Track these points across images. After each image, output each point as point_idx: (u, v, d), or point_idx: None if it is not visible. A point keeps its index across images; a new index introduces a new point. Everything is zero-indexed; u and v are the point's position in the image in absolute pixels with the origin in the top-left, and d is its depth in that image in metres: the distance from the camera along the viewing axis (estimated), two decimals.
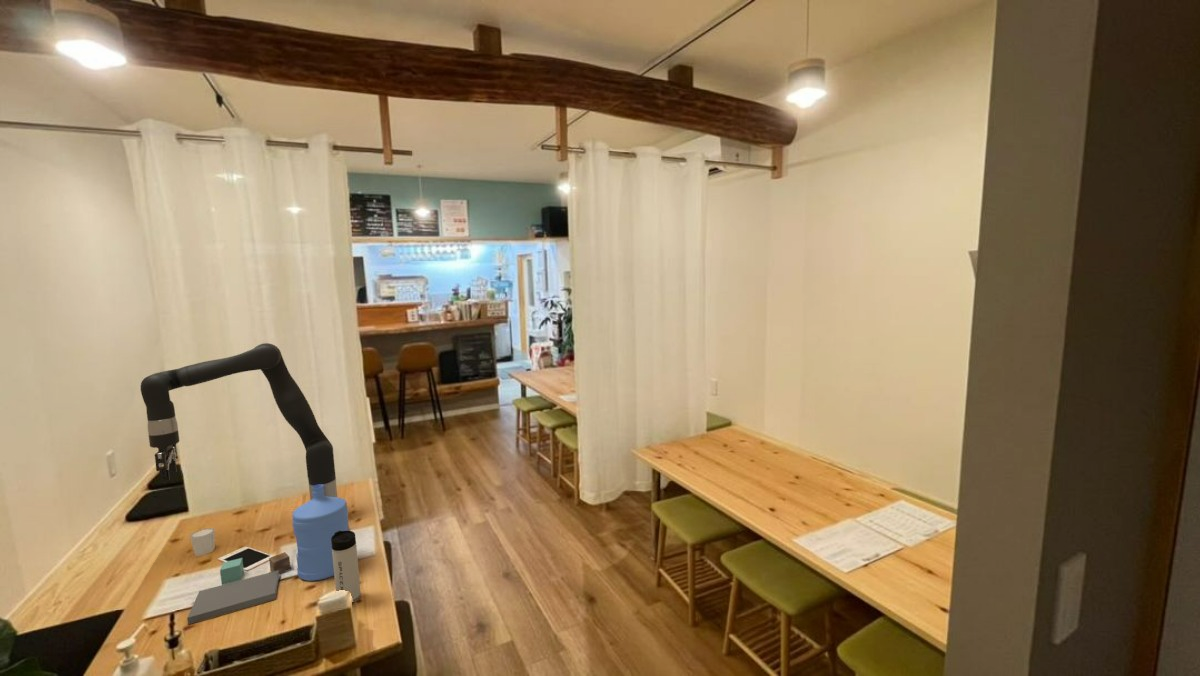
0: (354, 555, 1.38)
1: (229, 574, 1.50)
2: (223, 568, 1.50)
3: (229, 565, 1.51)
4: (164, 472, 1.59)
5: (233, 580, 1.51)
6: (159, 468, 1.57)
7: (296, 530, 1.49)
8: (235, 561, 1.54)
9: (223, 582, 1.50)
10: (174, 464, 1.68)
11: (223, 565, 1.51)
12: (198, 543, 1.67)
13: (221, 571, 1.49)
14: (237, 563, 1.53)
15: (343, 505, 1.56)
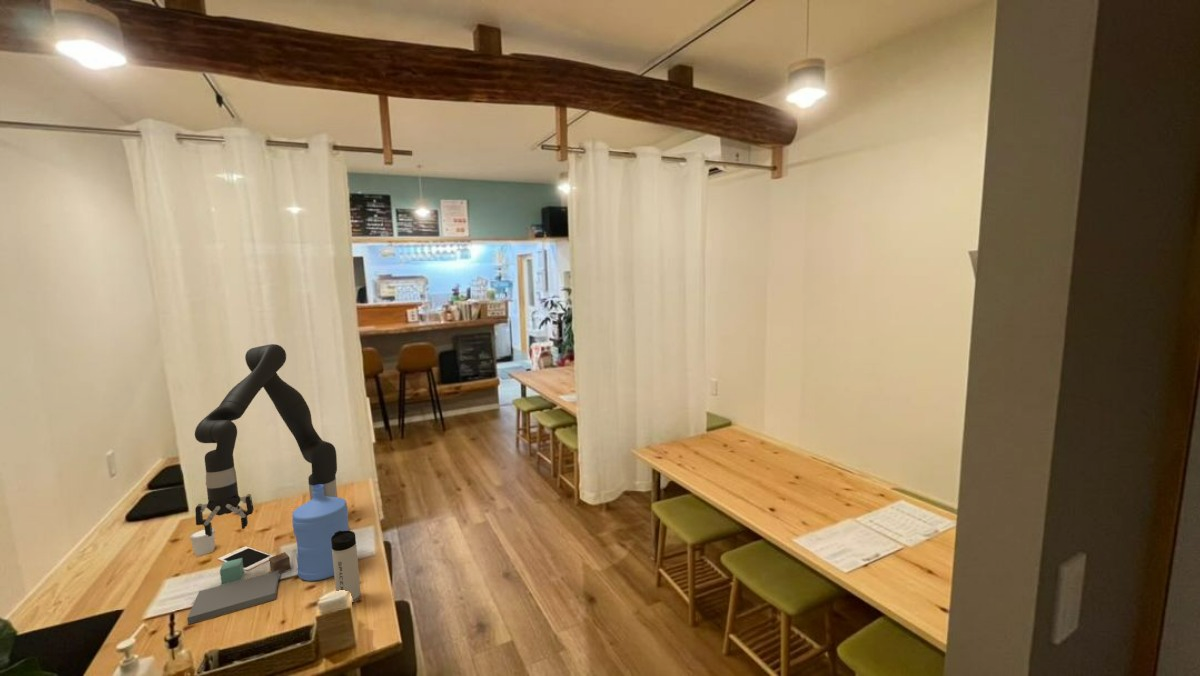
0: (354, 555, 1.38)
1: (229, 574, 1.50)
2: (223, 568, 1.50)
3: (229, 565, 1.51)
4: (246, 517, 1.54)
5: (233, 580, 1.51)
6: None
7: (296, 530, 1.49)
8: (235, 561, 1.54)
9: (223, 582, 1.50)
10: (211, 524, 1.50)
11: (223, 565, 1.51)
12: (198, 543, 1.67)
13: (221, 571, 1.49)
14: (237, 563, 1.53)
15: (343, 505, 1.56)
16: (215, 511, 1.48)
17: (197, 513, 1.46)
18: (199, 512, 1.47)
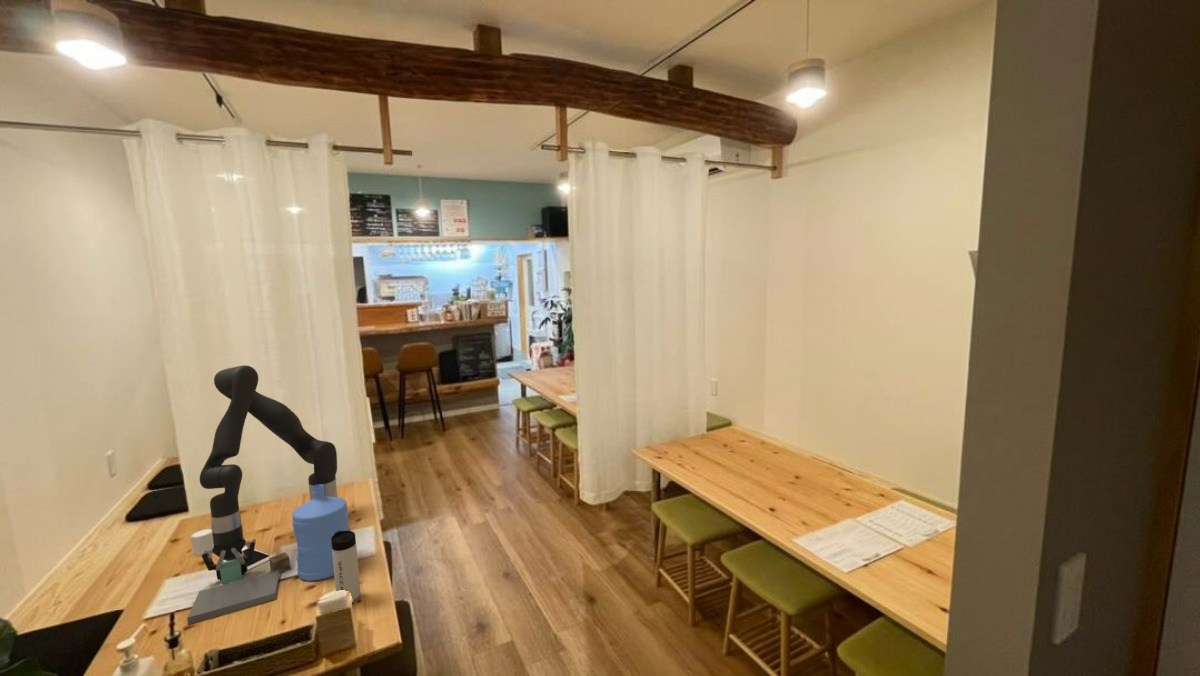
0: (354, 555, 1.38)
1: (229, 574, 1.50)
2: (223, 568, 1.50)
3: (229, 565, 1.51)
4: (246, 563, 1.55)
5: (233, 580, 1.51)
6: None
7: (296, 530, 1.49)
8: (235, 561, 1.54)
9: (223, 582, 1.50)
10: None
11: (223, 565, 1.52)
12: (198, 543, 1.67)
13: (221, 571, 1.49)
14: (237, 562, 1.53)
15: (343, 505, 1.56)
16: (222, 555, 1.50)
17: (205, 560, 1.48)
18: (207, 559, 1.48)
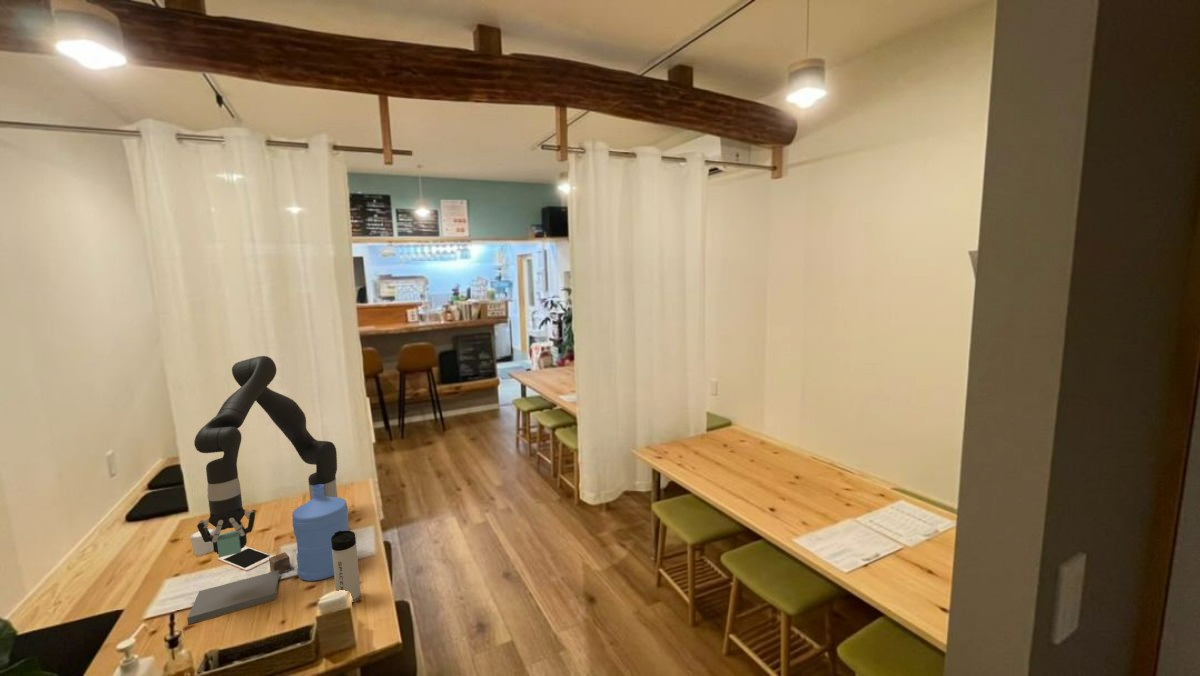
0: (354, 555, 1.38)
1: (227, 546, 1.38)
2: (220, 539, 1.38)
3: (227, 536, 1.39)
4: (245, 535, 1.42)
5: (231, 552, 1.39)
6: (251, 528, 1.42)
7: (296, 530, 1.49)
8: (233, 532, 1.42)
9: (220, 554, 1.38)
10: None
11: (220, 536, 1.39)
12: (198, 543, 1.67)
13: (218, 542, 1.37)
14: (236, 534, 1.40)
15: (343, 505, 1.56)
16: (219, 526, 1.38)
17: (201, 530, 1.36)
18: (203, 529, 1.36)
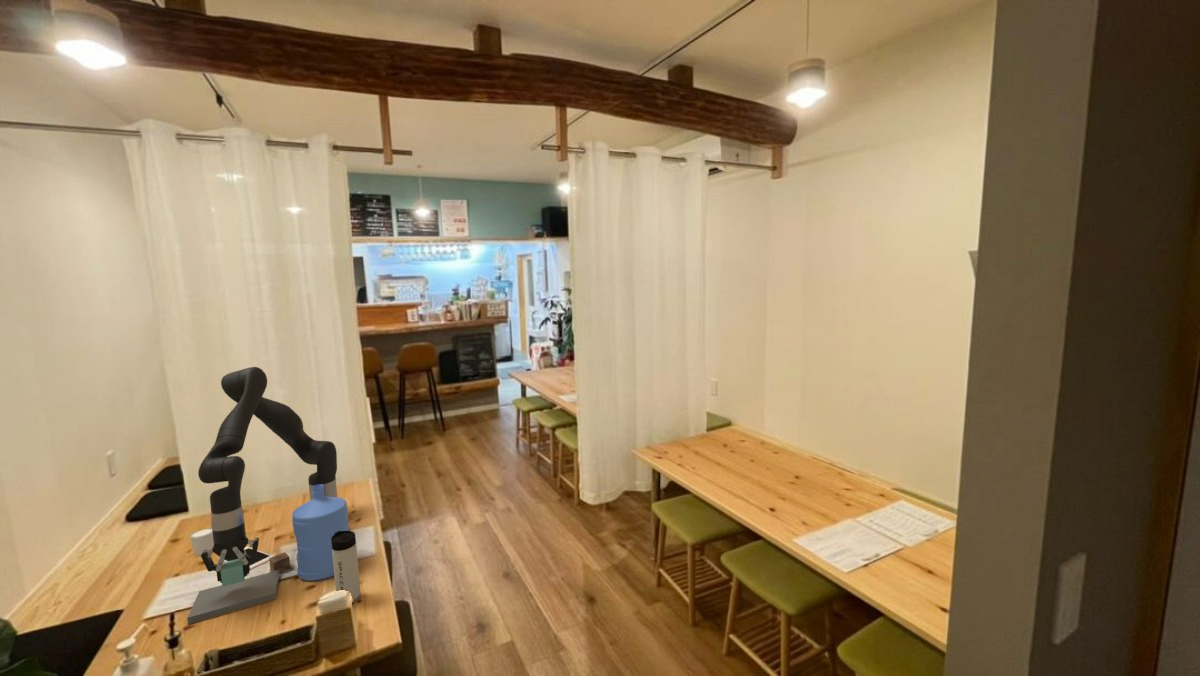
0: (354, 555, 1.38)
1: (230, 575, 1.39)
2: (224, 568, 1.39)
3: (230, 565, 1.40)
4: (249, 563, 1.43)
5: (235, 581, 1.40)
6: None
7: (296, 530, 1.49)
8: (237, 561, 1.42)
9: (224, 583, 1.38)
10: None
11: (224, 565, 1.40)
12: (198, 543, 1.67)
13: (222, 572, 1.38)
14: (239, 563, 1.41)
15: (343, 505, 1.56)
16: (223, 555, 1.38)
17: (205, 560, 1.37)
18: (206, 558, 1.37)
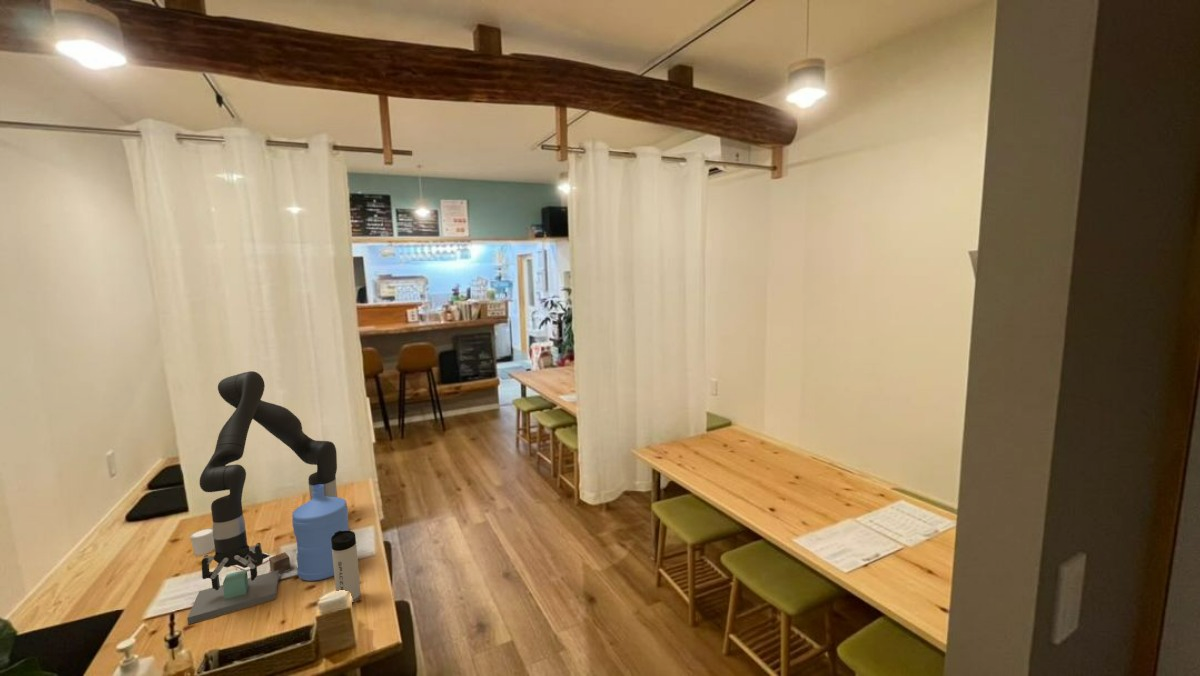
0: (354, 555, 1.38)
1: (232, 588, 1.39)
2: (226, 581, 1.39)
3: (233, 578, 1.41)
4: (256, 567, 1.44)
5: (237, 594, 1.40)
6: (261, 560, 1.44)
7: (296, 530, 1.49)
8: (239, 573, 1.43)
9: (226, 596, 1.39)
10: (218, 576, 1.40)
11: (226, 578, 1.41)
12: (198, 543, 1.67)
13: (224, 584, 1.38)
14: (241, 575, 1.42)
15: (343, 505, 1.56)
16: (223, 563, 1.38)
17: (203, 566, 1.37)
18: (206, 565, 1.37)
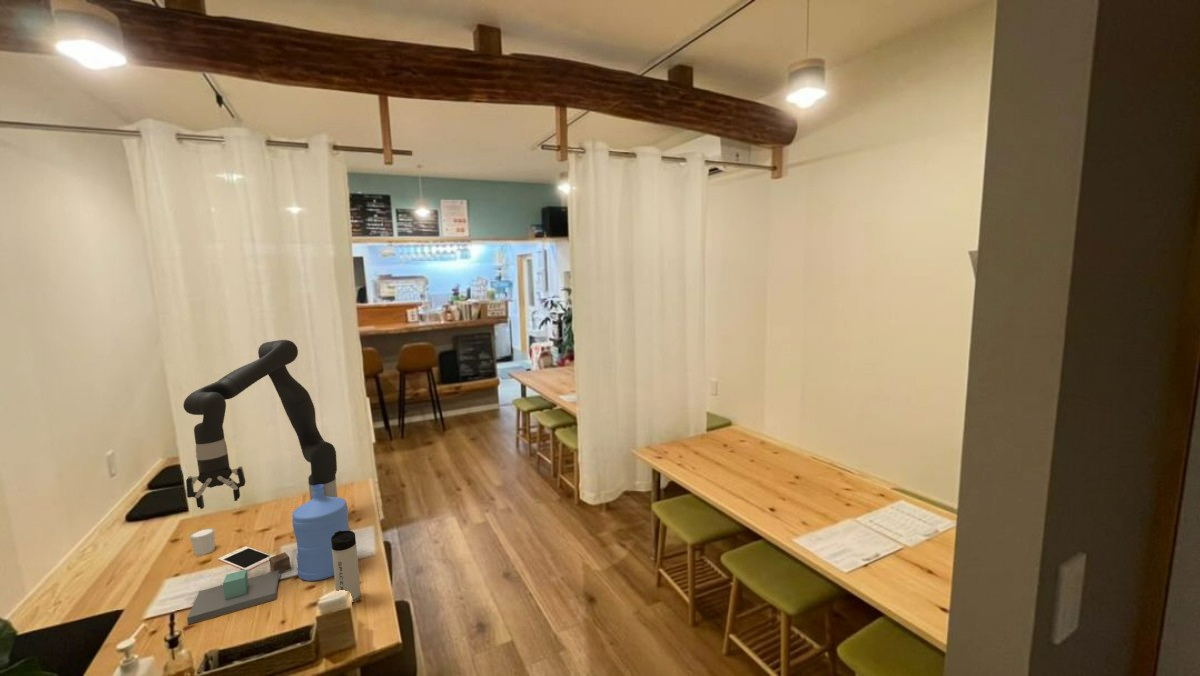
0: (354, 555, 1.38)
1: (232, 588, 1.39)
2: (226, 581, 1.39)
3: (233, 578, 1.41)
4: (238, 489, 1.53)
5: (237, 594, 1.40)
6: None
7: (296, 530, 1.49)
8: (239, 573, 1.43)
9: (226, 596, 1.39)
10: (202, 497, 1.49)
11: (226, 578, 1.41)
12: (198, 543, 1.67)
13: (224, 584, 1.38)
14: (241, 575, 1.42)
15: (343, 505, 1.56)
16: (206, 483, 1.47)
17: (188, 485, 1.45)
18: (190, 484, 1.46)
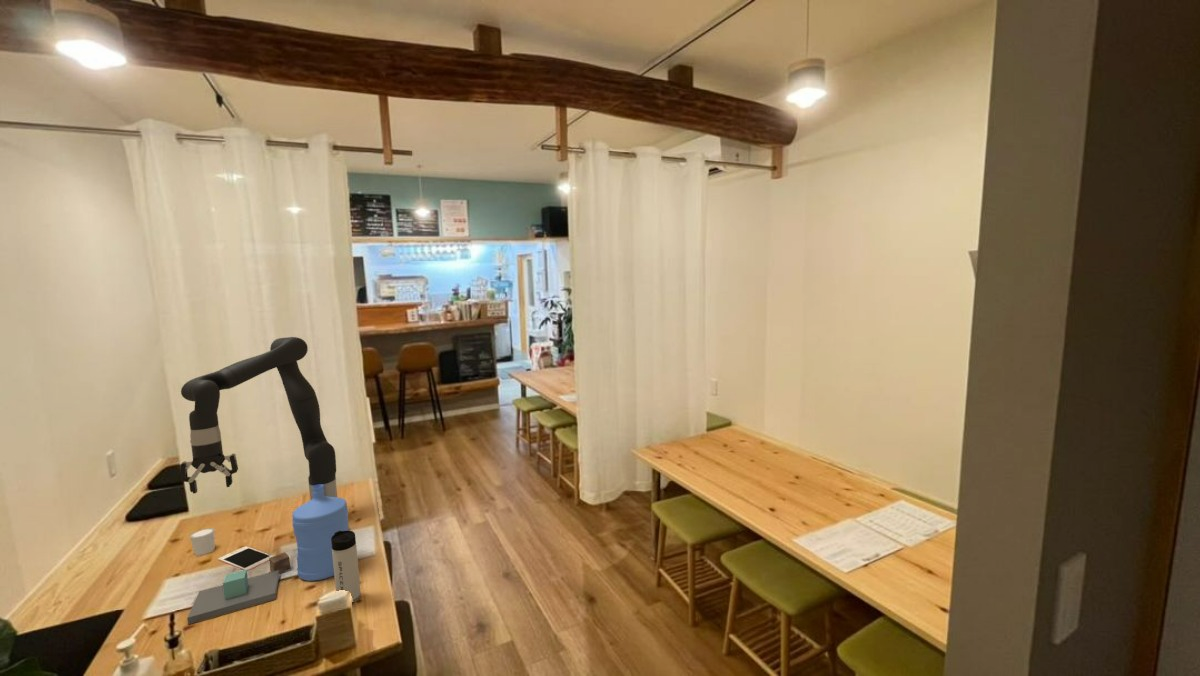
0: (354, 555, 1.38)
1: (232, 588, 1.39)
2: (226, 581, 1.39)
3: (233, 578, 1.41)
4: (231, 476, 1.57)
5: (237, 594, 1.40)
6: (236, 469, 1.57)
7: (296, 530, 1.49)
8: (239, 573, 1.43)
9: (226, 596, 1.39)
10: None
11: (226, 578, 1.41)
12: (198, 543, 1.67)
13: (224, 584, 1.38)
14: (241, 575, 1.42)
15: (343, 505, 1.56)
16: (200, 468, 1.51)
17: (182, 470, 1.49)
18: (184, 469, 1.49)
